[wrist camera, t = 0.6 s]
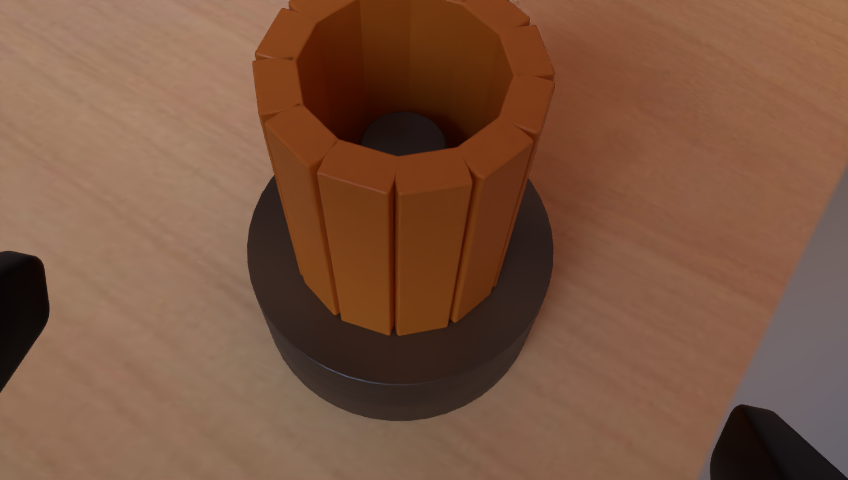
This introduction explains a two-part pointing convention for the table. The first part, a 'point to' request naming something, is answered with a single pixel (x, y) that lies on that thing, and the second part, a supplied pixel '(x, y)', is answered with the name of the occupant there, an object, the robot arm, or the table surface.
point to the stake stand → (391, 354)
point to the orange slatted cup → (409, 174)
